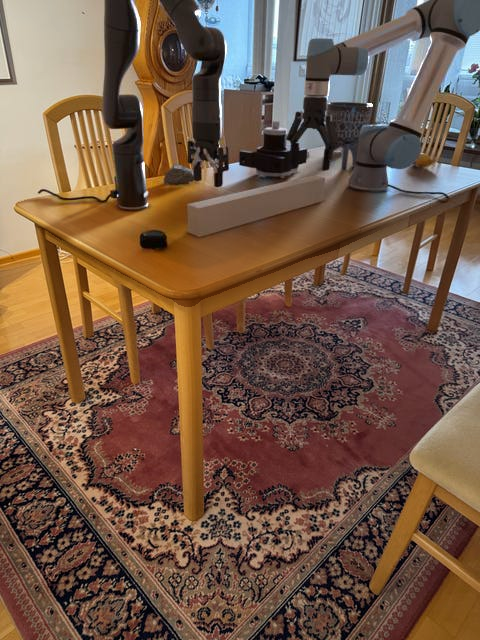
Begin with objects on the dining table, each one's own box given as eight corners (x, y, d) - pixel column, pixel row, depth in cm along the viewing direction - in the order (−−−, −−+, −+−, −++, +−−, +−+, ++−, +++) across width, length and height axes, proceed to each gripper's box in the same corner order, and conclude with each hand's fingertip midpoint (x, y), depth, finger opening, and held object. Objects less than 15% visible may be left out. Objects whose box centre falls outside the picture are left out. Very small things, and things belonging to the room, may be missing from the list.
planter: (313, 167, 208) (319, 103, 195) (331, 160, 222) (338, 101, 209) (353, 173, 199) (362, 107, 185) (369, 166, 213) (379, 104, 199)
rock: (189, 177, 184) (188, 161, 181) (201, 182, 179) (201, 165, 176) (161, 182, 177) (159, 165, 173) (173, 187, 171) (172, 170, 168)
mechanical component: (240, 120, 182) (283, 115, 202) (239, 174, 192) (280, 164, 212) (283, 126, 170) (325, 120, 190) (280, 183, 180) (320, 171, 200)
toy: (409, 160, 208) (403, 153, 221) (411, 174, 211) (405, 166, 224) (434, 152, 205) (427, 146, 218) (436, 166, 208) (429, 159, 221)
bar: (311, 198, 163) (313, 175, 159) (322, 201, 160) (325, 177, 156) (188, 232, 129) (186, 204, 125) (199, 237, 126) (198, 208, 122)
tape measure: (140, 252, 115) (139, 238, 113) (141, 242, 120) (140, 229, 119) (167, 251, 116) (166, 237, 114) (167, 241, 121) (166, 228, 120)
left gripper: (178, 117, 118) (181, 181, 126) (214, 123, 109) (214, 191, 117) (200, 115, 122) (201, 177, 131) (236, 121, 114) (235, 186, 122)
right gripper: (278, 94, 147) (274, 162, 158) (341, 99, 131) (332, 174, 142) (293, 93, 152) (289, 159, 162) (356, 98, 136) (346, 171, 147)
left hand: (207, 183), depth 124 cm, fingers open, 8 cm apart
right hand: (309, 166), depth 152 cm, fingers open, 13 cm apart
